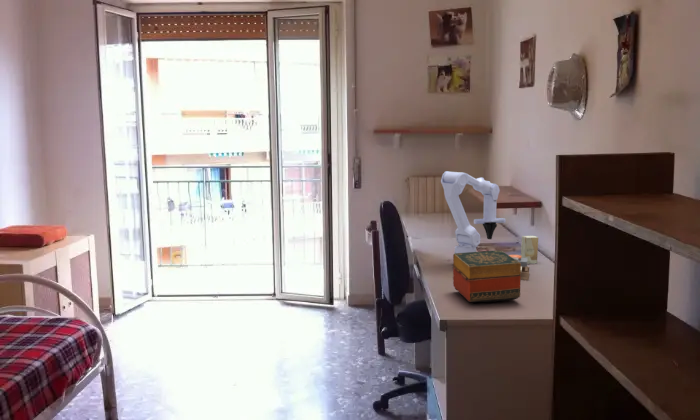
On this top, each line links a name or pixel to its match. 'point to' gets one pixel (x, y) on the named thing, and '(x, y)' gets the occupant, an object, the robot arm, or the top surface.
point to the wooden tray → (525, 273)
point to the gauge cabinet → (523, 262)
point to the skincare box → (529, 248)
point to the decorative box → (486, 276)
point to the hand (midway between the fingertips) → (489, 238)
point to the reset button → (516, 256)
